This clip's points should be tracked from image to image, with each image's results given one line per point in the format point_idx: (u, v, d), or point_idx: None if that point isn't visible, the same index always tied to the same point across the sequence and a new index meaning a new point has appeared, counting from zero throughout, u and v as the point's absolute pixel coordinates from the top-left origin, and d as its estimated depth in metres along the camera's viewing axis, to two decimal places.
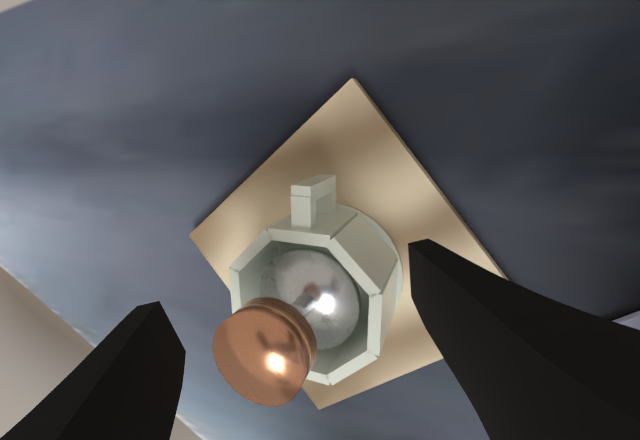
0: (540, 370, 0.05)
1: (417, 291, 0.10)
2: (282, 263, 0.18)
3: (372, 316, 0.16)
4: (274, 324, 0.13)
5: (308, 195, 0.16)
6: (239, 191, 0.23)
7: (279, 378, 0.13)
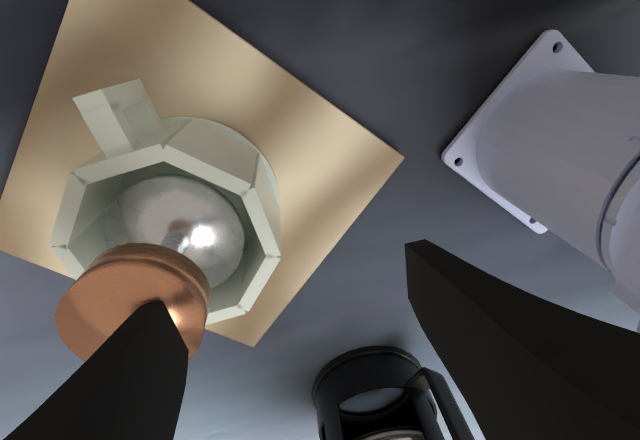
0: (535, 372, 0.05)
1: (414, 292, 0.10)
2: (122, 209, 0.14)
3: (255, 217, 0.13)
4: (130, 271, 0.09)
5: (105, 103, 0.11)
6: (22, 154, 0.16)
7: None
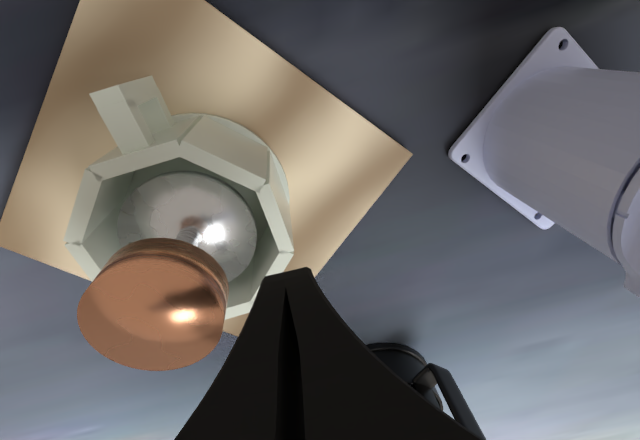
0: (308, 430, 0.05)
1: None
2: (136, 206, 0.14)
3: (269, 212, 0.14)
4: (152, 265, 0.09)
5: (121, 99, 0.11)
6: (32, 152, 0.16)
7: (194, 323, 0.10)
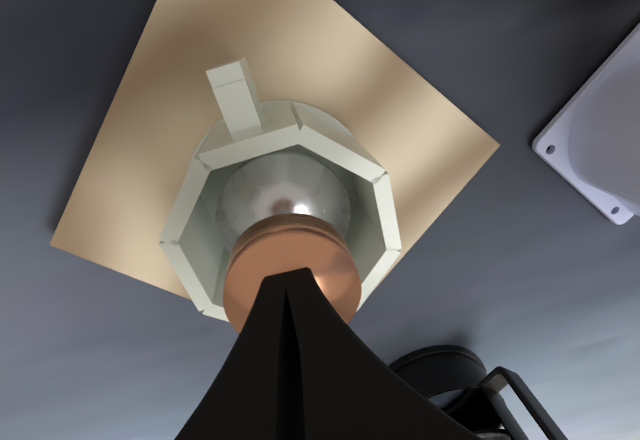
0: (308, 430, 0.05)
1: None
2: (237, 187, 0.13)
3: (382, 206, 0.12)
4: (304, 237, 0.09)
5: (240, 78, 0.10)
6: (101, 143, 0.15)
7: (333, 298, 0.10)
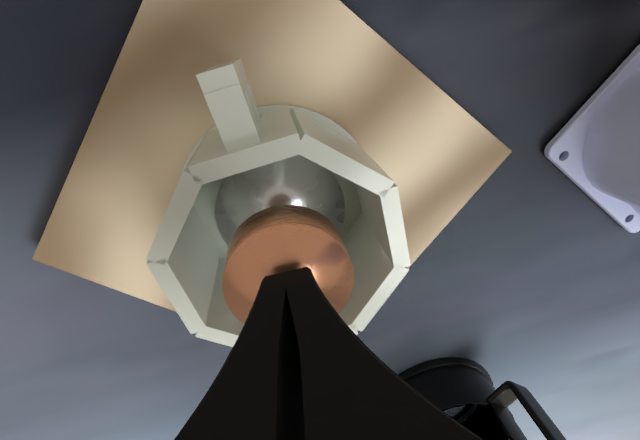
0: (308, 430, 0.05)
1: None
2: (236, 182, 0.14)
3: (390, 221, 0.11)
4: (299, 227, 0.10)
5: (234, 82, 0.09)
6: (86, 152, 0.14)
7: (327, 285, 0.11)
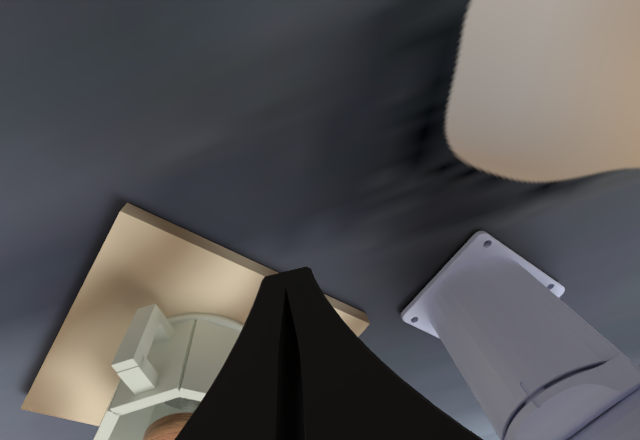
0: (307, 430, 0.05)
1: None
2: None
3: None
4: None
5: (135, 364, 0.15)
6: (56, 348, 0.20)
7: None
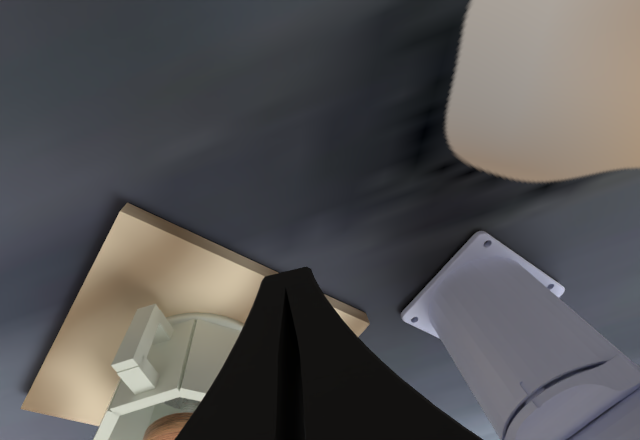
0: (307, 430, 0.05)
1: None
2: None
3: None
4: None
5: (135, 364, 0.15)
6: (56, 348, 0.20)
7: None
